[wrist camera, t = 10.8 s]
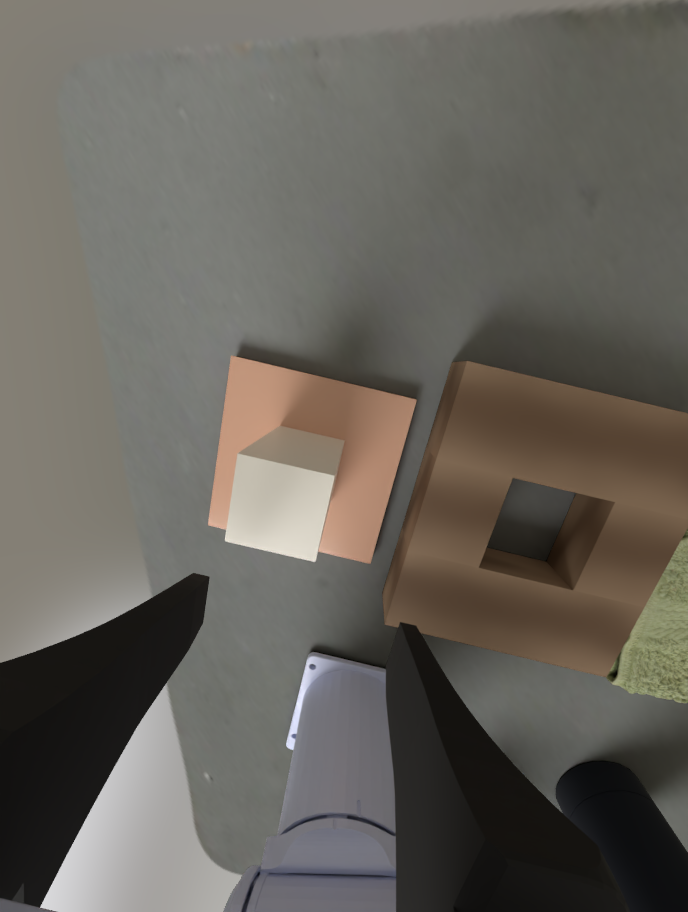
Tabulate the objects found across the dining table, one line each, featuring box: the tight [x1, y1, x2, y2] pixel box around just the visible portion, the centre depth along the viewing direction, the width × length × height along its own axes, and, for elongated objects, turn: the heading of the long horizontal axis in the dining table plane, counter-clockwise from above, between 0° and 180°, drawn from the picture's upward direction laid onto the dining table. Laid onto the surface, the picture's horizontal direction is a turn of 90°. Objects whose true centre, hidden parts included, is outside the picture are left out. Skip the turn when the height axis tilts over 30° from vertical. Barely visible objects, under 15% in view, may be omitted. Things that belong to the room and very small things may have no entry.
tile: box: [208, 356, 417, 564], centre depth 21 cm, size 11×11×1 cm
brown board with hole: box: [382, 361, 688, 677], centre depth 20 cm, size 16×14×3 cm
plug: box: [225, 426, 345, 562], centre depth 17 cm, size 4×4×7 cm
